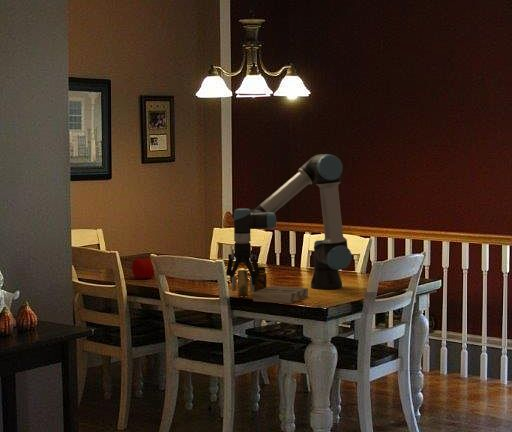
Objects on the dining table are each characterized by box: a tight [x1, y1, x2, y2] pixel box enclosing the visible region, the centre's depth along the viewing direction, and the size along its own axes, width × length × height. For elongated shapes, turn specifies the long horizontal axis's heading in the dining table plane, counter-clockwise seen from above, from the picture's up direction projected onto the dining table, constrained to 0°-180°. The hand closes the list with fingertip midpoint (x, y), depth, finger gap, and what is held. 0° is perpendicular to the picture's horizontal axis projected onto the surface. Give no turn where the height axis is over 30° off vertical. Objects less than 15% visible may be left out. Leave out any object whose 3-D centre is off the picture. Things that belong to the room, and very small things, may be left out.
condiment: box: [254, 266, 268, 292], centre depth 468 cm, size 7×8×12 cm
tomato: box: [131, 256, 155, 280], centre depth 519 cm, size 12×13×12 cm
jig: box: [252, 285, 309, 305], centre depth 448 cm, size 20×18×4 cm
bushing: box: [237, 269, 249, 298], centre depth 456 cm, size 4×4×12 cm
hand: (243, 291), depth 456 cm, fingers open, 9 cm apart
